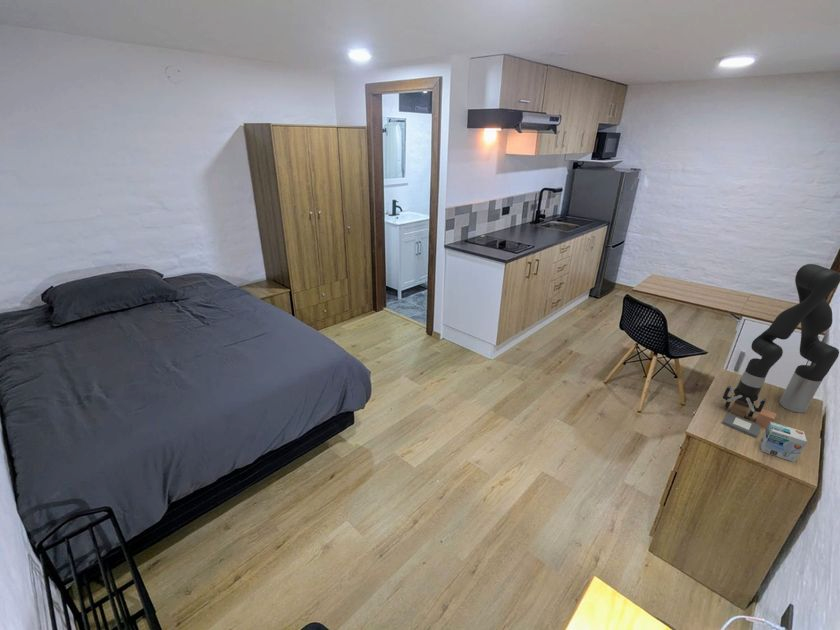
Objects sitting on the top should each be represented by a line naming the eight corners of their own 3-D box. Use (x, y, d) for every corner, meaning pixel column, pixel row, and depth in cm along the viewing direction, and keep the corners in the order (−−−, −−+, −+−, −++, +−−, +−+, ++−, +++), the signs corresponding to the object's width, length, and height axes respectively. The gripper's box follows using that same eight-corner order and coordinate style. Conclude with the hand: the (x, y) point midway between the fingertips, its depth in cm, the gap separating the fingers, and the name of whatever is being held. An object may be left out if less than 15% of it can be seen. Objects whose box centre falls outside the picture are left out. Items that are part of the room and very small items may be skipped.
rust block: (756, 419, 174) (761, 408, 171) (771, 424, 171) (776, 413, 168) (754, 424, 171) (759, 413, 168) (768, 430, 168) (774, 419, 165)
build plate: (727, 414, 177) (728, 412, 176) (760, 428, 169) (761, 425, 168) (722, 423, 171) (723, 421, 170) (756, 438, 163) (757, 435, 163)
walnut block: (731, 409, 180) (736, 398, 177) (745, 414, 177) (750, 403, 174) (729, 414, 177) (733, 403, 174) (742, 419, 174) (747, 408, 171)
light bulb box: (760, 451, 157) (771, 430, 152) (759, 441, 162) (769, 420, 157) (795, 463, 151) (808, 442, 146) (793, 452, 156) (804, 431, 152)
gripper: (774, 385, 167) (759, 416, 174) (733, 371, 176) (720, 401, 183) (771, 393, 162) (755, 424, 169) (729, 378, 171) (716, 408, 179)
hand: (737, 412), depth 176 cm, fingers open, 7 cm apart
